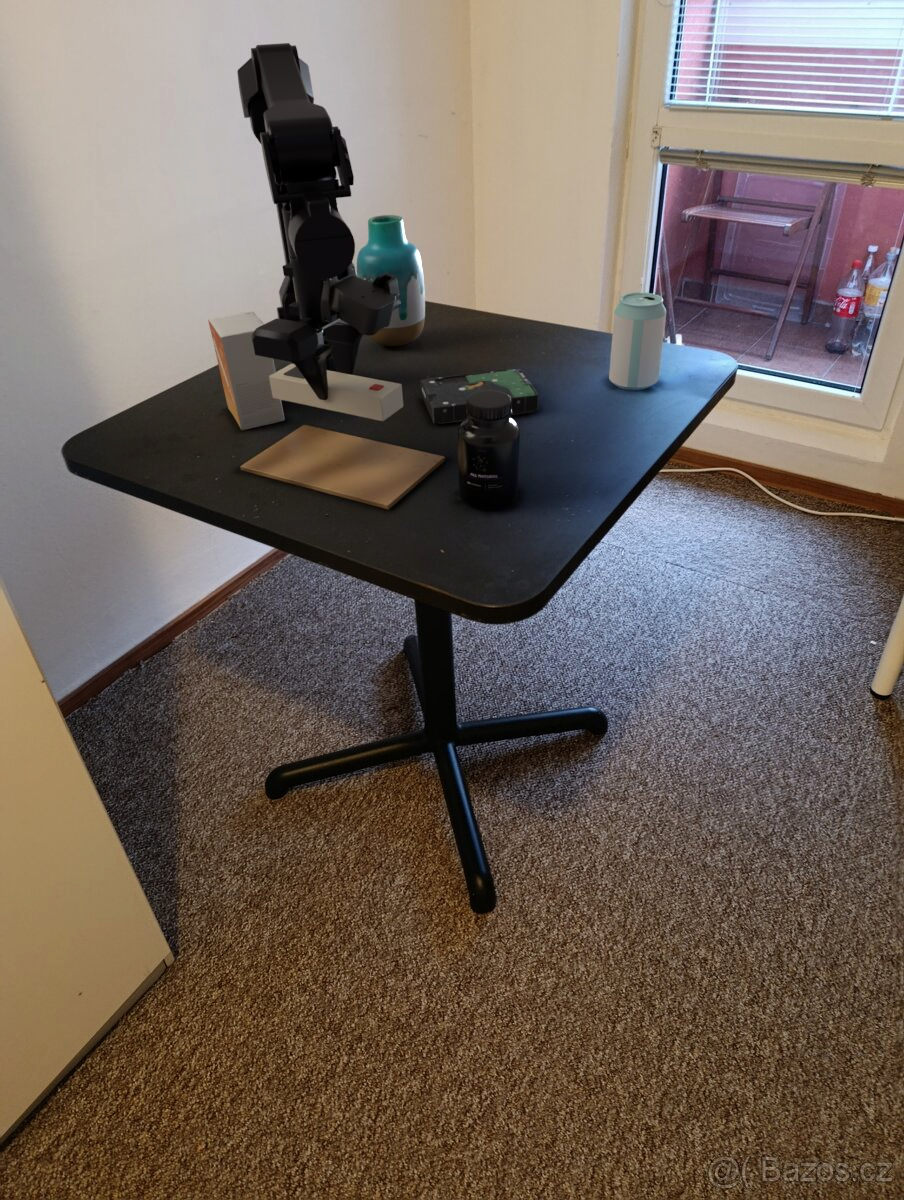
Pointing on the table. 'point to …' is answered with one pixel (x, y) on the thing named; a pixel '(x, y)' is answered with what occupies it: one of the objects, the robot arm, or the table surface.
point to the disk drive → (452, 392)
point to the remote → (340, 393)
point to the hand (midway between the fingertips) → (335, 392)
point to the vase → (405, 264)
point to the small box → (245, 371)
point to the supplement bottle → (488, 452)
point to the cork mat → (345, 465)
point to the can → (637, 341)
